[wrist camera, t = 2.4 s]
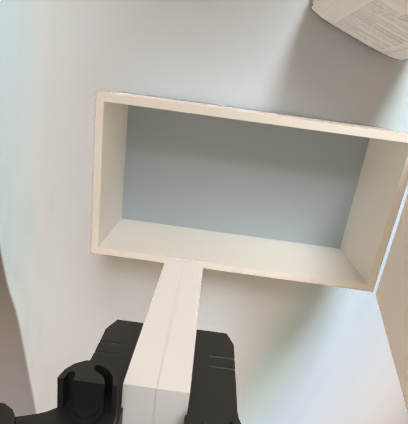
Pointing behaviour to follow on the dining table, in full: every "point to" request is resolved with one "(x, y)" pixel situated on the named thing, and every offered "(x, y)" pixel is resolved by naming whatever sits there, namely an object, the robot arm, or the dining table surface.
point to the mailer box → (245, 189)
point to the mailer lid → (397, 300)
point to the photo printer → (370, 22)
